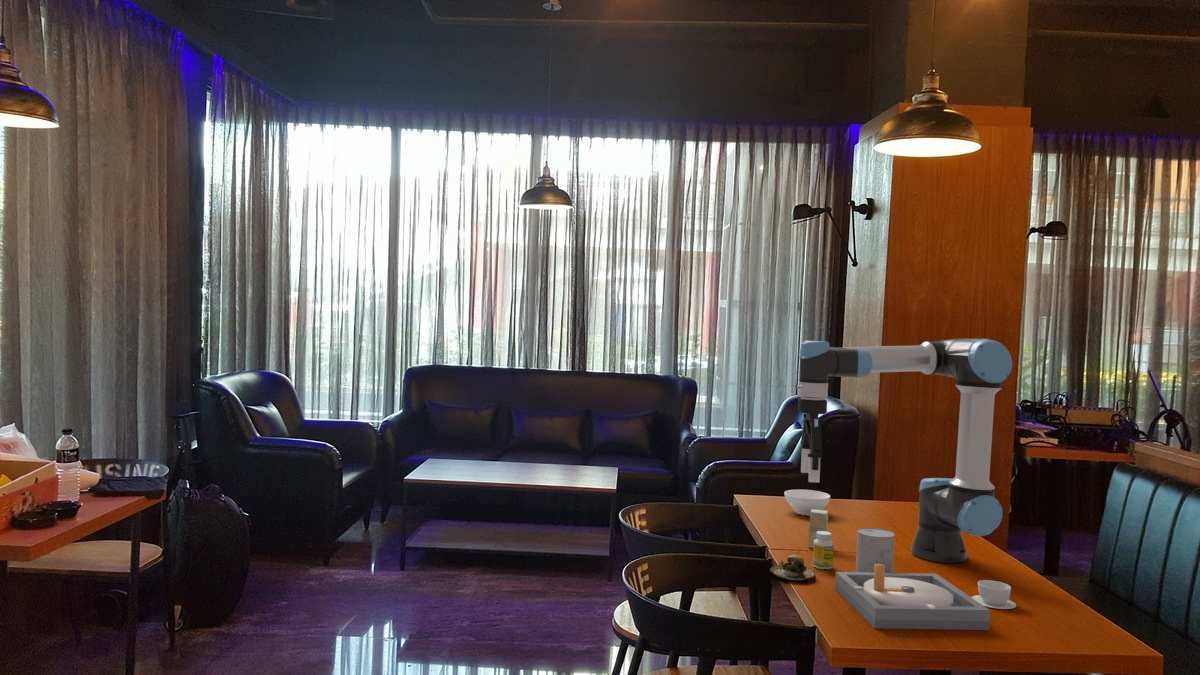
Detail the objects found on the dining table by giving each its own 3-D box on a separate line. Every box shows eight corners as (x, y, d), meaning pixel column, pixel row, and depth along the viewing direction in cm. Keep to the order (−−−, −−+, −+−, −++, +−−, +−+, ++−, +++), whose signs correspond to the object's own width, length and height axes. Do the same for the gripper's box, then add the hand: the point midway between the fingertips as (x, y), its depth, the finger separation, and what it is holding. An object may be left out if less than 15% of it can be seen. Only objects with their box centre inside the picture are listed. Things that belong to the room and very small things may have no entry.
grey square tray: (935, 591, 205) (935, 572, 205) (988, 630, 179) (989, 608, 179) (835, 589, 204) (835, 570, 204) (874, 628, 178) (875, 606, 178)
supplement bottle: (821, 563, 227) (822, 529, 227) (836, 568, 223) (838, 533, 222) (808, 565, 224) (809, 531, 224) (823, 571, 220) (824, 536, 219)
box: (807, 547, 243) (809, 511, 242) (809, 544, 247) (811, 508, 246) (825, 550, 241) (827, 513, 240) (827, 546, 245) (828, 510, 244)
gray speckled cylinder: (892, 575, 218) (894, 530, 218) (893, 585, 209) (895, 538, 209) (855, 570, 221) (857, 526, 221) (854, 580, 212) (856, 534, 212)
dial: (929, 585, 202) (930, 554, 202) (969, 614, 182) (970, 579, 182) (851, 584, 201) (852, 552, 201) (882, 613, 181) (884, 578, 181)
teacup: (1014, 614, 191) (1015, 594, 191) (968, 605, 196) (969, 586, 196) (1018, 602, 199) (1018, 583, 199) (974, 594, 205) (974, 575, 205)
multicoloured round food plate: (761, 573, 217) (762, 545, 217) (796, 569, 222) (797, 542, 222) (788, 587, 206) (789, 558, 206) (825, 582, 211) (826, 554, 211)
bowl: (785, 517, 281) (785, 497, 281) (782, 507, 297) (783, 488, 297) (832, 520, 279) (833, 500, 279) (826, 510, 295) (827, 491, 294)
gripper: (792, 393, 228) (789, 468, 228) (805, 402, 203) (802, 485, 204) (819, 394, 227) (816, 469, 228) (835, 403, 202) (832, 487, 203)
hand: (809, 477), depth 216 cm, fingers open, 13 cm apart
